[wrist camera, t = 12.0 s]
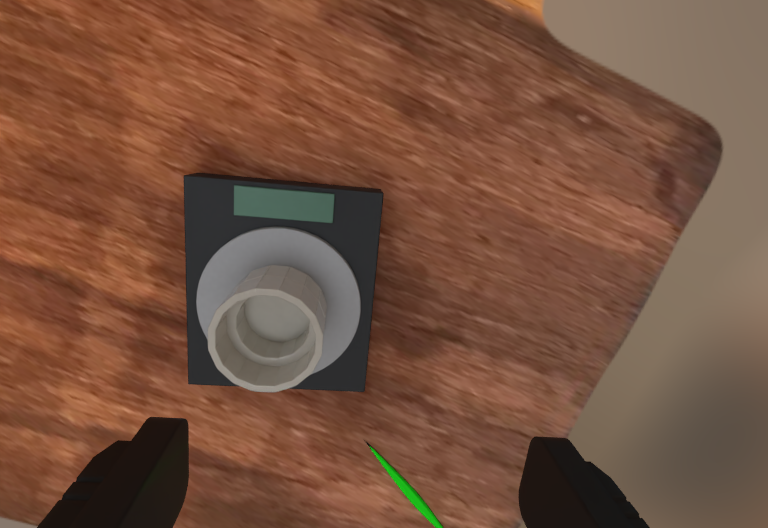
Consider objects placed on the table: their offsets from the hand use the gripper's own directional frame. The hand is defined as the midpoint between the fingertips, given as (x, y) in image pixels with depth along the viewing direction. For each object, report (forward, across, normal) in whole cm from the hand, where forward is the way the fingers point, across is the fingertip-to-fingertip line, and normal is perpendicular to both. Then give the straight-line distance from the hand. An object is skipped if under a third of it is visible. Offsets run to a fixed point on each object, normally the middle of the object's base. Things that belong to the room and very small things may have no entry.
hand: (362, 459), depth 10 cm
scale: (+21, +4, +3) cm, 22 cm away
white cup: (+18, +4, +4) cm, 19 cm away
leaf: (+22, -7, +21) cm, 31 cm away
